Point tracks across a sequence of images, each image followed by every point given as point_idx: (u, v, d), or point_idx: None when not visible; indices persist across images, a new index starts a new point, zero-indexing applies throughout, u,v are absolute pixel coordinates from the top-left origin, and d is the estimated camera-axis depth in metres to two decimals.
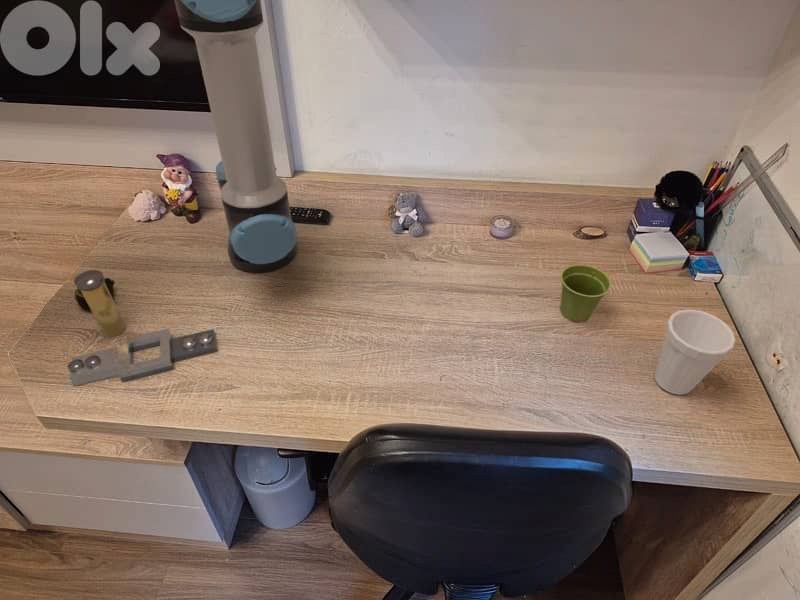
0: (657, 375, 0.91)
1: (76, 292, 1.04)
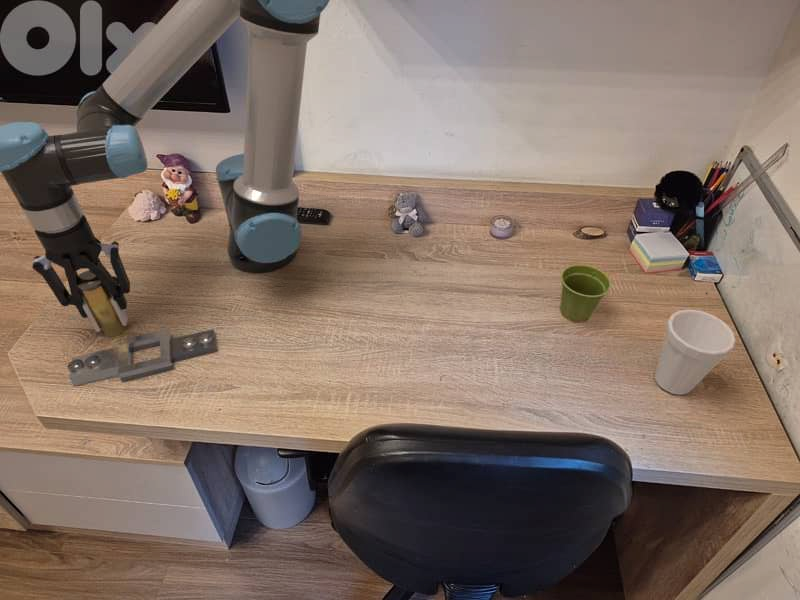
0: (657, 375, 0.91)
1: None
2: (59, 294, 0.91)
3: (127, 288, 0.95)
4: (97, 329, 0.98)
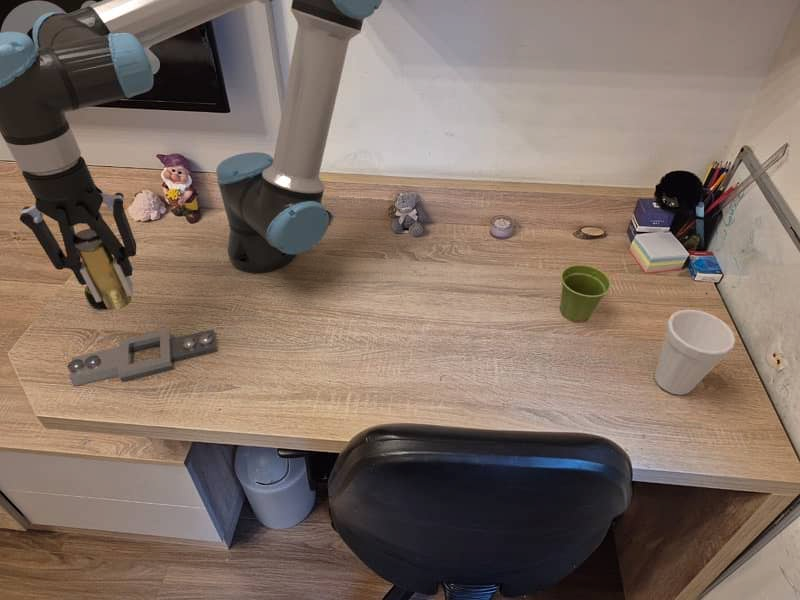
0: (657, 375, 0.91)
1: (86, 289, 1.05)
2: (52, 254, 0.77)
3: (133, 250, 0.81)
4: (97, 299, 0.84)
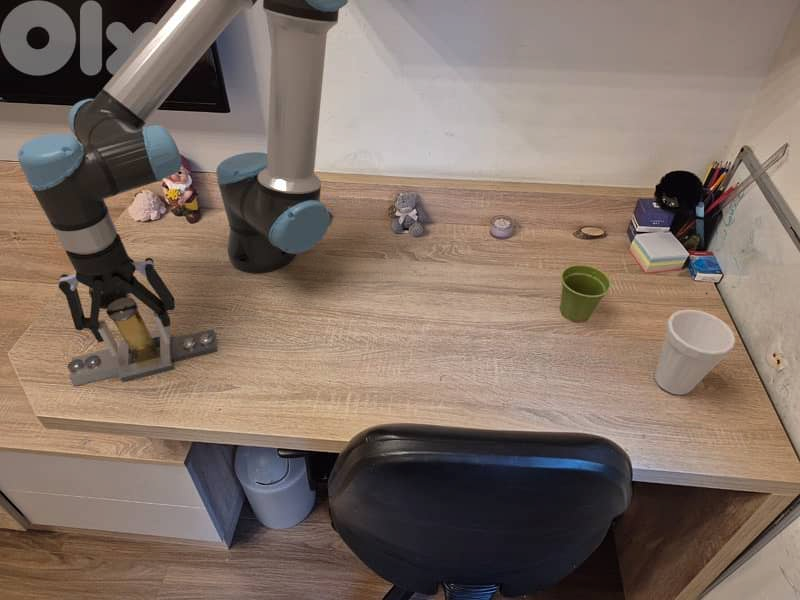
0: (657, 375, 0.91)
1: (90, 288, 1.05)
2: (77, 317, 0.84)
3: (171, 304, 0.89)
4: (113, 354, 0.91)
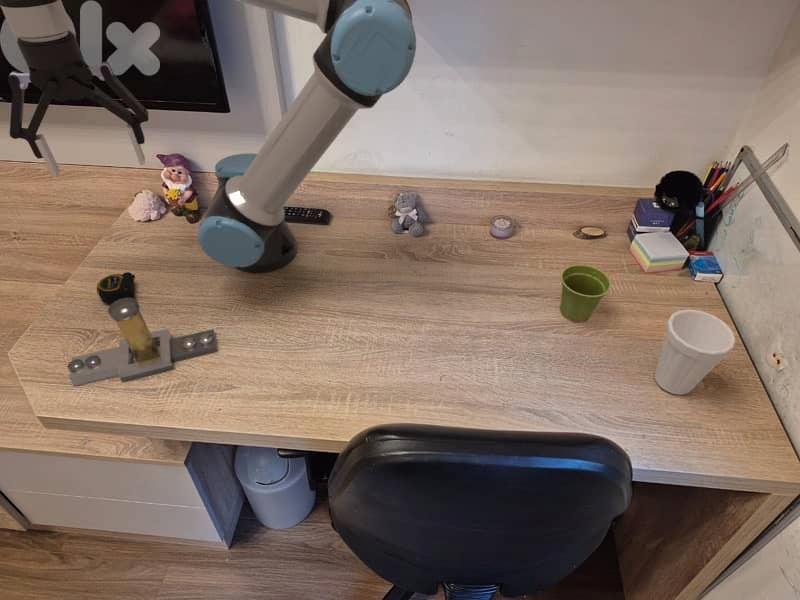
0: (657, 375, 0.91)
1: (98, 286, 1.05)
2: (15, 122, 0.80)
3: (143, 114, 0.86)
4: (54, 174, 0.87)
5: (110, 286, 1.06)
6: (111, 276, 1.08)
